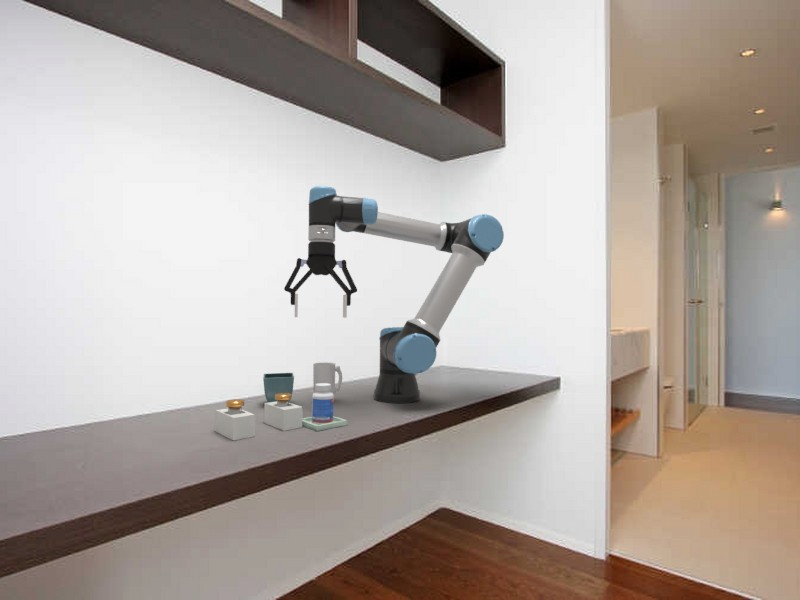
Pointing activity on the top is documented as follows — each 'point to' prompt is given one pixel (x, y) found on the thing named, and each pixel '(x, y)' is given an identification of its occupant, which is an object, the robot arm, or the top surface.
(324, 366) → the mug
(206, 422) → the top surface
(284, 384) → the flower pot
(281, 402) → the plunger
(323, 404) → the pill bottle
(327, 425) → the tray
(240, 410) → the plunger
